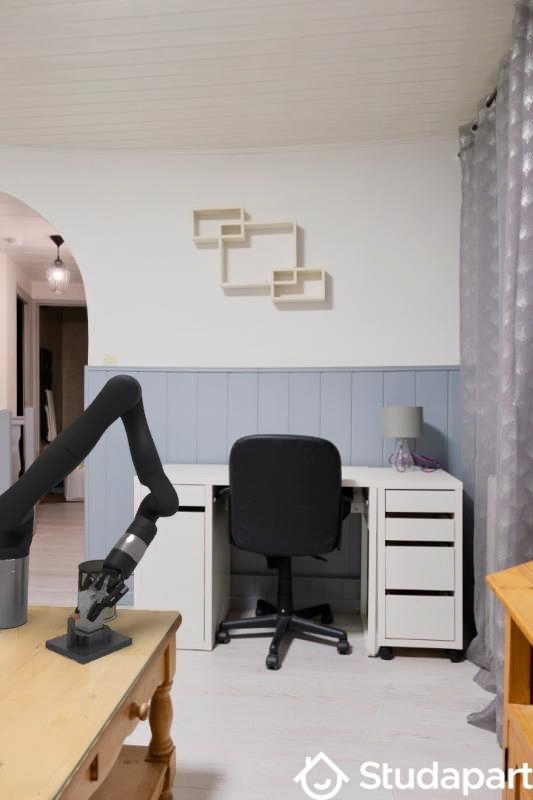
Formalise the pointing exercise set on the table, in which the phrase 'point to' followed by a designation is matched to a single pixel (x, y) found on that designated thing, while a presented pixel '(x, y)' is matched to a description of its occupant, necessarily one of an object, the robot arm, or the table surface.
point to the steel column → (84, 607)
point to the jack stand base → (87, 642)
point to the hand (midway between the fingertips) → (83, 617)
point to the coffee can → (94, 568)
